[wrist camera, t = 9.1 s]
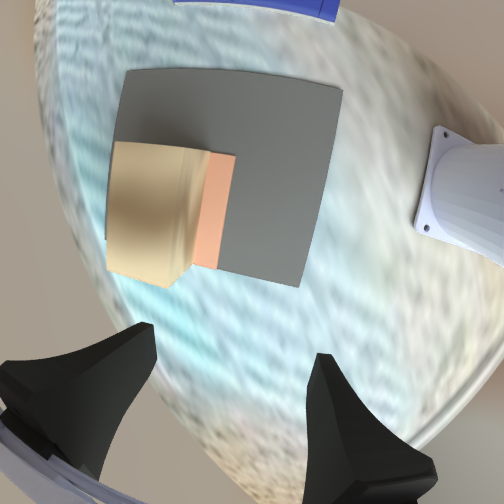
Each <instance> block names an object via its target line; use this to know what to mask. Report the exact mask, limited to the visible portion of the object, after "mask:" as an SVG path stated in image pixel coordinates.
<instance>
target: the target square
mask: <svg viewBox="0 0 504 504" xmlns="http://www.w3.org/2000/svg"><path fill="white" fill-rule="evenodd" d="M235 159H236V156H231V155H225V154H218V153H212V152H210V156H209V162H208V167H207V173H206V179H205V185H204V191H203V197H202V204H201V210H200V217H199V224H198V231H197V238H196V245H195V253H194V261H193V264H195V265H199V266H203V267H207V268H211V269H215V270H216V269H217V265H218V258H219V252H220V246H221V239H222V233H223V227H224V221H225V215H226V209H227V203H228V198H229V192H230V186H231V181H232V175H233V170H234V164H235Z"/></svg>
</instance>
